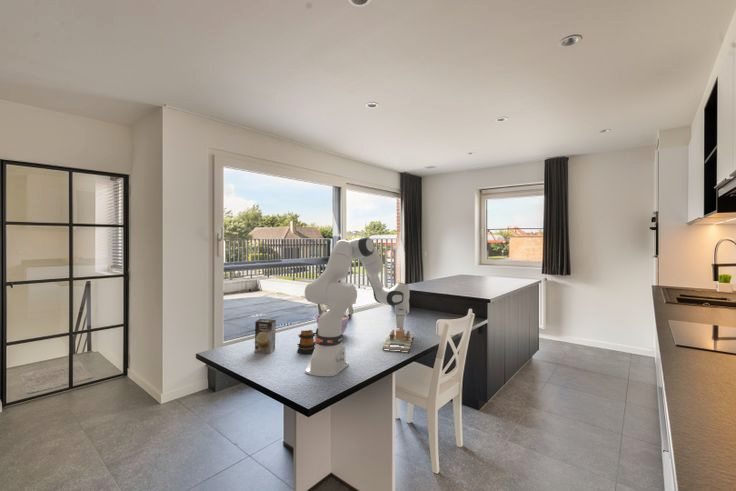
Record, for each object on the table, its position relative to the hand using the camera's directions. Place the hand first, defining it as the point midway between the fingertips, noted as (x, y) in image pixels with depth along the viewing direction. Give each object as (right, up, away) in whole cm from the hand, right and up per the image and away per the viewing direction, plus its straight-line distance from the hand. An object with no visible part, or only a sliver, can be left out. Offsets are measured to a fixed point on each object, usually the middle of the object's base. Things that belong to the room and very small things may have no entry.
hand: (401, 331), depth 206 cm
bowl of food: (-42, -3, +1) cm, 42 cm away
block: (-1, -1, -7) cm, 7 cm away
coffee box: (-74, -3, -29) cm, 80 cm away
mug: (-51, -3, -28) cm, 59 cm away
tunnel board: (-3, -4, -13) cm, 13 cm away
